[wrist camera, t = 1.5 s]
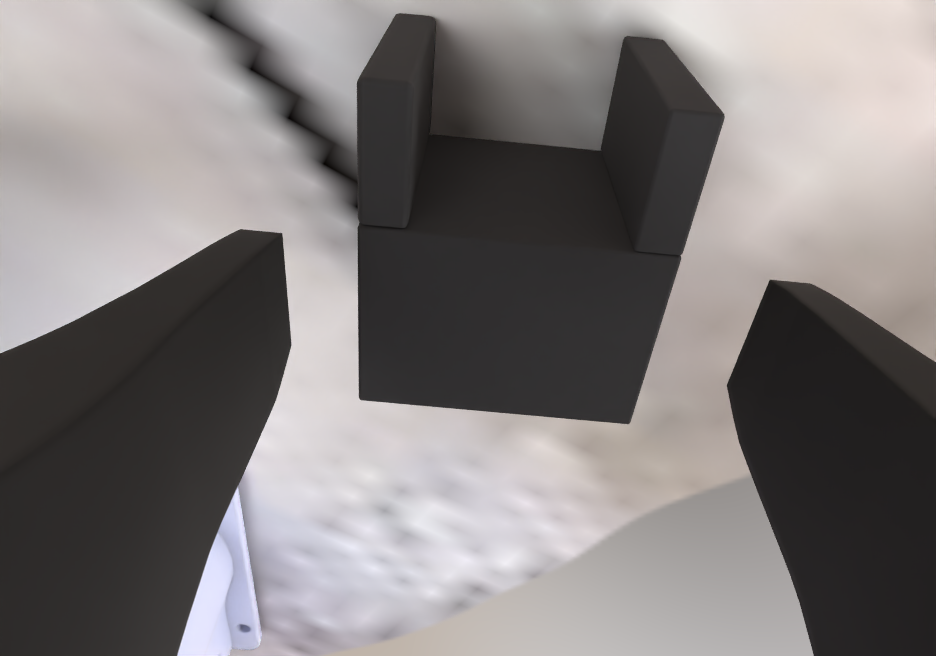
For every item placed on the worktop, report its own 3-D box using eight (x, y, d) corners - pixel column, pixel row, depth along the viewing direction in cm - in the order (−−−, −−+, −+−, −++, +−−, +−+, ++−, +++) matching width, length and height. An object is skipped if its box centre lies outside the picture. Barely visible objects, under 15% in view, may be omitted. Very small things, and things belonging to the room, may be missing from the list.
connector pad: (602, 299, 17) (630, 425, 13) (389, 279, 17) (358, 401, 13) (665, 39, 13) (726, 115, 10) (395, 12, 13) (355, 76, 9)
